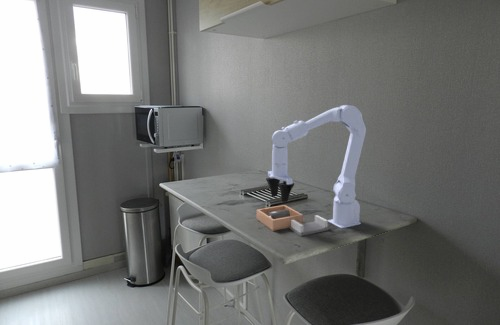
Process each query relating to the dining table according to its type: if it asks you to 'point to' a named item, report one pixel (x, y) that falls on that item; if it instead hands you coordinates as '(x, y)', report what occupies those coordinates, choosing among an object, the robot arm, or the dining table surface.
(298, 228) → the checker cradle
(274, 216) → the cell
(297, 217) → the bin
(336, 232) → the dining table surface
